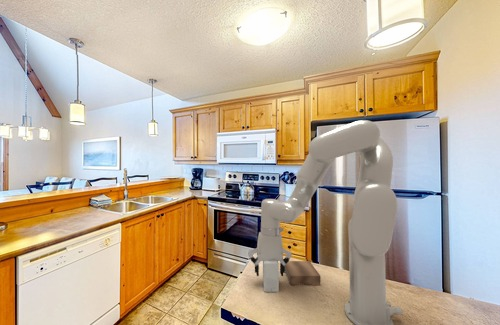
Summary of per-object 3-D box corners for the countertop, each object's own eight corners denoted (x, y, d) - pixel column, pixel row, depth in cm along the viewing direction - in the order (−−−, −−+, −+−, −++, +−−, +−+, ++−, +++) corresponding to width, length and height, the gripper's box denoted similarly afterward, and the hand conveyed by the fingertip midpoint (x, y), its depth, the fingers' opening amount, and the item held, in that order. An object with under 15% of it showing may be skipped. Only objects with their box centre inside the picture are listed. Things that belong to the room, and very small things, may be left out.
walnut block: (309, 269, 84) (309, 260, 84) (320, 286, 72) (320, 275, 72) (283, 269, 83) (284, 261, 84) (290, 286, 71) (290, 276, 72)
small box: (278, 292, 67) (278, 263, 68) (263, 292, 67) (263, 263, 68) (276, 279, 75) (276, 253, 76) (262, 279, 75) (262, 253, 76)
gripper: (289, 227, 76) (288, 269, 76) (248, 227, 76) (247, 269, 75) (294, 234, 69) (293, 280, 68) (248, 233, 68) (247, 280, 68)
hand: (269, 274), depth 72 cm, fingers open, 9 cm apart
